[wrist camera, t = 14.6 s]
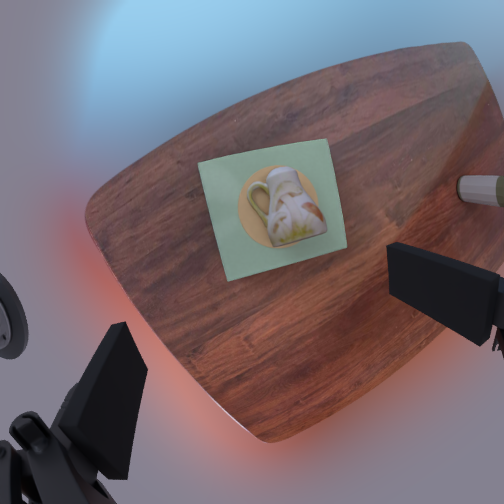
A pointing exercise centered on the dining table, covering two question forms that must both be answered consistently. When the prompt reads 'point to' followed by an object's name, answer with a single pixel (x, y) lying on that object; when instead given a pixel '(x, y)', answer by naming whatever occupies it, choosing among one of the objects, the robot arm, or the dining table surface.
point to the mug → (288, 208)
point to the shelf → (249, 222)
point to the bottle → (482, 189)
